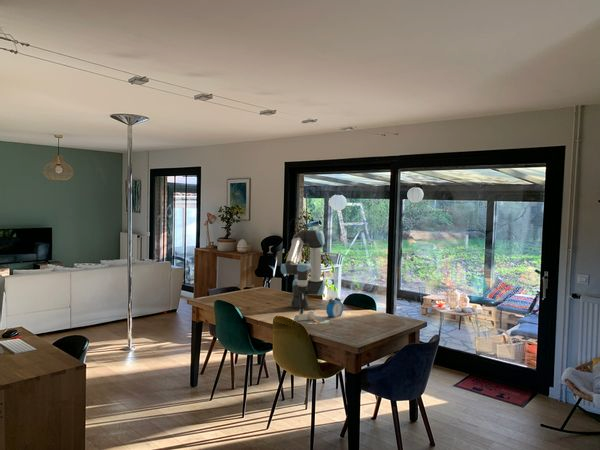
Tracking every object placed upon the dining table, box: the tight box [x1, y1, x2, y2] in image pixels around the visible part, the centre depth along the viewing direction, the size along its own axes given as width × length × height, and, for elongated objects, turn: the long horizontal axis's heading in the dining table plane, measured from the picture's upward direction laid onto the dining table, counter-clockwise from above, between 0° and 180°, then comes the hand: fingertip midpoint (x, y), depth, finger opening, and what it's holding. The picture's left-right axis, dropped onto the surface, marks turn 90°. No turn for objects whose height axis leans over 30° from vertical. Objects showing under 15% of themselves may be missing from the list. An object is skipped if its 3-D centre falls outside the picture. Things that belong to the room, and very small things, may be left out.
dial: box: [298, 309, 320, 323], centre depth 329 cm, size 16×13×6 cm
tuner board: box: [293, 314, 331, 325], centre depth 333 cm, size 24×26×2 cm
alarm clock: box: [325, 297, 344, 318], centre depth 346 cm, size 13×6×15 cm, turn 136°
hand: (301, 317), depth 333 cm, fingers closed
